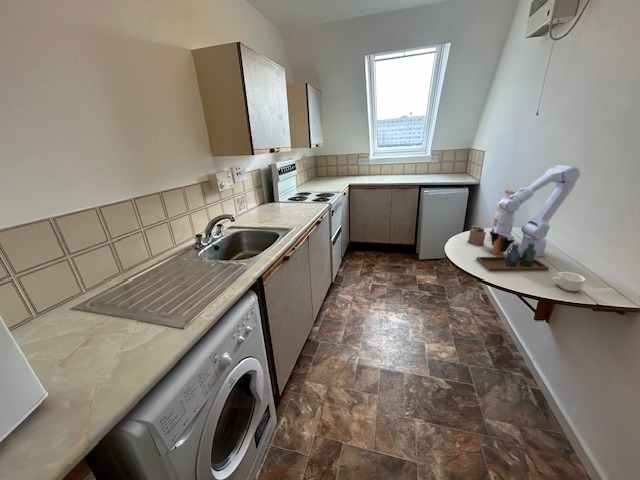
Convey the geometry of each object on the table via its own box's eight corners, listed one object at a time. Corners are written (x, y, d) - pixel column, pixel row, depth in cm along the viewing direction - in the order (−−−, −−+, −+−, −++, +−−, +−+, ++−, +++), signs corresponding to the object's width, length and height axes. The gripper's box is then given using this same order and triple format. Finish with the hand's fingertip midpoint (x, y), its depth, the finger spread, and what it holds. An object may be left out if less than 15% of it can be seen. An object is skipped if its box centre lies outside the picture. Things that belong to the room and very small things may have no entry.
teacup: (573, 284, 108) (578, 272, 106) (585, 294, 101) (590, 282, 99) (544, 281, 111) (548, 270, 109) (554, 291, 104) (558, 279, 102)
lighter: (484, 244, 147) (488, 227, 144) (482, 246, 145) (485, 229, 142) (469, 240, 153) (472, 224, 149) (466, 242, 151) (469, 225, 147)
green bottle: (527, 262, 126) (533, 241, 122) (535, 267, 121) (541, 246, 117) (516, 262, 126) (522, 241, 122) (523, 267, 121) (529, 246, 118)
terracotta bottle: (499, 251, 138) (503, 233, 134) (505, 256, 134) (510, 236, 130) (489, 252, 139) (493, 233, 135) (495, 256, 134) (499, 237, 130)
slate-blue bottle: (512, 262, 126) (517, 242, 122) (519, 267, 122) (525, 246, 118) (501, 262, 126) (506, 242, 122) (508, 267, 122) (513, 246, 118)
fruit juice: (486, 236, 158) (496, 190, 147) (497, 234, 160) (508, 188, 150) (500, 242, 149) (512, 193, 139) (512, 239, 152) (525, 191, 142)
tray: (529, 259, 129) (530, 256, 128) (547, 271, 118) (549, 267, 117) (475, 260, 130) (476, 257, 129) (488, 272, 120) (489, 268, 119)
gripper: (488, 218, 137) (482, 242, 142) (505, 228, 123) (498, 254, 128) (502, 218, 136) (496, 242, 141) (520, 227, 123) (513, 254, 128)
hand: (498, 248), depth 135 cm, fingers open, 7 cm apart
